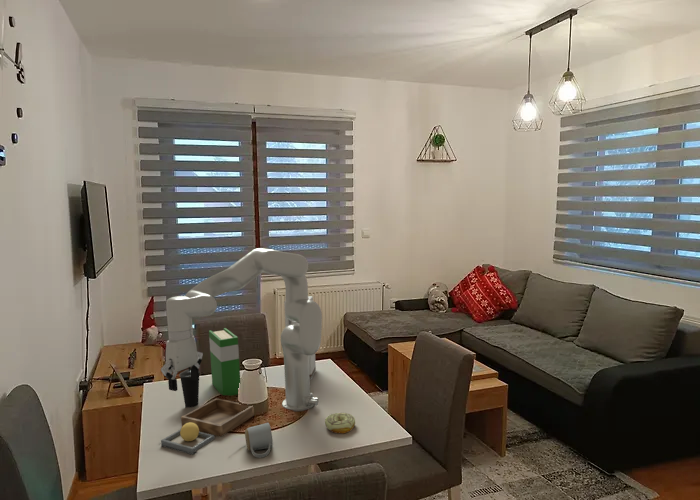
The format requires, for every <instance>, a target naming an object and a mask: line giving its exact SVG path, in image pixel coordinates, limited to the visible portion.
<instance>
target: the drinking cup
mask: <svg viewBox="0 0 700 500" xmlns="http://www.w3.org/2000/svg"><path fill="white" fill-rule="evenodd" d="M190 368H191V367H189V368H187V369H184V370H182V371H180V373H179V377H180V383H181V388H182V389H181V390H182V394H183V400H184V407H185V409H187V408H195V407H197V406H198V405H199V393H200V391H199V390H200V389H199V388H200V379H199V380H198V381H197V380H192V379H191V371H190ZM200 374H201V372H200V370H199V375H200Z"/></svg>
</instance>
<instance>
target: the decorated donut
mask: <svg viewBox="0 0 700 500" xmlns="http://www.w3.org/2000/svg"><path fill="white" fill-rule="evenodd" d="M324 422H325V426H326V428H327V429H328V430H329V431H330V432H332V433H333V434H334V433H335V434H342V435H343V434H346V433H348V432H351V431H352V430H353V428H354V427H355V424H356V418H355V417H354V416H353V415H352V414H350V413H347V412H339V413H338V412H335V413H331V414H329V415H328V416H327V417H326V418H325V419H324Z"/></svg>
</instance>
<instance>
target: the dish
mask: <svg viewBox="0 0 700 500" xmlns="http://www.w3.org/2000/svg"><path fill="white" fill-rule="evenodd" d="M180 431H181V428H180V429H178V430H177V431H175V432H174V433H171V434H170V435H168V436H166V437H164V438H163V439H161V440H160V442H161V443H160V446H161V447H163V448H167V449H171V450H174V451H178V452H180V453H181V452H182V453H184V454H189V455H192V456H193V455H195V454H197V453H198V451H197V450H199V449H201V448H202V447H204V446H206V445H208V444H209V443H210V442H212V441H213V440H215V435H212V434H208V433H204V432H200V431H199V434H198V436H197V437H200V438H204V439H203V440H202V441H200V442H198V443H197V444H195V445H194V446H190V445H185V444H182V443H179V442H178V443H177V442H174V441H171V440H173V439H175V438H176V437H178V436H181V435H180Z"/></svg>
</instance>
